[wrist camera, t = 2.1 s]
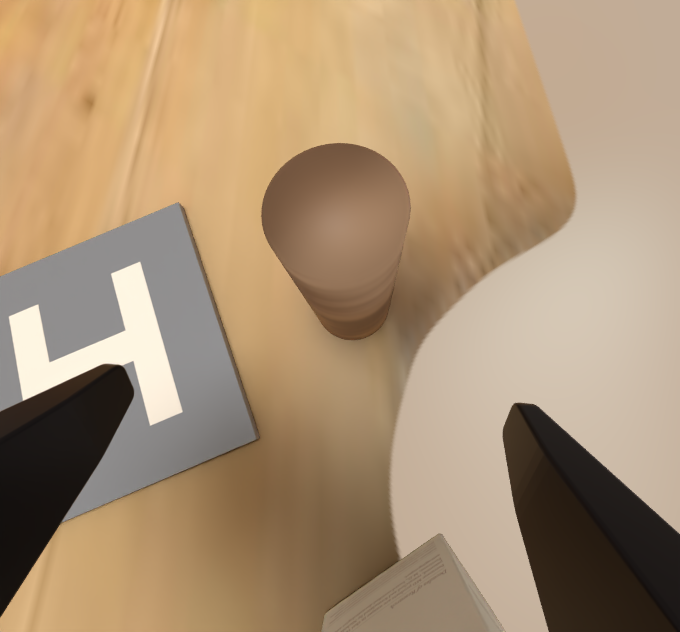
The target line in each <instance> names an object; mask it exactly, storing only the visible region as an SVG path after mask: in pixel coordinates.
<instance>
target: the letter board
mask: <svg viewBox="0 0 680 632" xmlns="http://www.w3.org/2000/svg"><path fill="white" fill-rule="evenodd" d="M102 364H118V365H122V366H123V367H124V368H125V369H126V371H127V374H128V376H129V378H130V381H131V383H132V385H133V388H134V398H133V400H132V402H131V404H130V406H129V408H128V410H127V412H126V414H125V416H124V418H123V420H122V422H121V423H120V425H119V427H118V429H117V431H116V433H115V435H114V437H113V439H112V441H111V443H110V445H109V447H108V449H107V450H106V452H105V454H104V456H103V458H102V459H101V461H100V463H99V464H98V466H97V468H96V469H95V471H94V472H93V474H92V475H91V477H90V478H89V480H88V482H87V483H86V485H85V486H84V488H83V489H82V491H81V492H80V494H79V496H78V497H77V499H76V500H75V502H74V503H73V505H72V507H71V508H70V510H69V511H68V513H67V514H66V516H65V517H64V519H63V521H62V522H64V521H66V520H69V519H71V518H73V517H76V516H78V515H80V514H83V513H85V512H87V511H90V510H92V509H94V508H97V507H99V506H102V505H104V504H106V503H109V502H111V501H113V500H116V499H118V498H120V497H123V496H125V495H127V494H130V493H132V492H134V491H137V490H139V489H141V488H144V487H146V486H148V485H151V484H153V483H155V482H158V481H160V480H163V479H165V478H167V477H170V476H172V475H174V474H177V473H179V472H181V471H184V470H186V469H188V468H191V467H193V466H195V465H198V464H200V463H202V462H205V461H207V460H209V459H212V458H214V457H216V456H219V455H221V454H224V453H226V452H228V451H231V450H233V449H235V448H238V447H240V446H242V445H245V444H247V443H249V442H252V441H254V440H256V439H259V438H260V437H259V434H258V431H257V428H256V425H255V422H254V418H253V415H252V412H251V409H250V406H249V403H248V400H247V397H246V394H245V391H244V388H243V385H242V382H241V379H240V376H239V373H238V370H237V367H236V364H235V361H234V358H233V355H232V352H231V349H230V346H229V343H228V340H227V337H226V334H225V331H224V328H223V325H222V322H221V319H220V316H219V313H218V310H217V307H216V304H215V301H214V298H213V295H212V292H211V289H210V286H209V283H208V280H207V277H206V274H205V271H204V268H203V265H202V262H201V259H200V256H199V253H198V250H197V247H196V244H195V241H194V238H193V235H192V232H191V229H190V226H189V223H188V220H187V217H186V214H185V211H184V208H183V206H182V205H181V204H180V203H179V202H178V203H175V204H173V205H171V206H168V207H166V208H163V209H161V210H159V211H156V212H154V213H151V214H149V215H147V216H144V217H142V218H140V219H137V220H135V221H132V222H130V223H128V224H125V225H123V226H120V227H118V228H116V229H113V230H111V231H108V232H106V233H104V234H101V235H99V236H96V237H94V238H92V239H89V240H87V241H84V242H82V243H80V244H77V245H75V246H72V247H70V248H68V249H65V250H63V251H60V252H58V253H56V254H53V255H51V256H48V257H46V258H44V259H41V260H39V261H36V262H34V263H32V264H29V265H27V266H24V267H22V268H20V269H17V270H15V271H12V272H10V273H8V274H5V275H3V276H0V411H2V410H4V409H6V408H9V407H11V406H13V405H15V404H17V403H19V402H22V401H24V400H26V399H28V398H30V397H32V396H35V395H37V394H39V393H41V392H43V391H45V390H47V389H50V388H52V387H54V386H56V385H58V384H60V383H63V382H65V381H67V380H69V379H71V378H73V377H76V376H78V375H80V374H82V373H84V372H86V371H89V370H91V369H93V368H95V367H97V366H99V365H102ZM62 522H61V523H62Z"/></svg>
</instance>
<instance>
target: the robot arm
mask: <svg viewBox="0 0 680 632" xmlns="http://www.w3.org/2000/svg"><path fill="white" fill-rule="evenodd" d="M133 398H134V388H133V385H132V383H131V381H130V378H129V376H128V374H127V371H126V369H125V368H124V367H123V366H122V365H118V364H102V365H99V366H97V367H95V368H93V369H91V370H89V371H86V372H84V373H82V374H80V375H78V376H76V377H73V378H71V379H69V380H67V381H65V382H63V383H60V384H58V385H56V386H54V387H52V388H50V389H47V390H45V391H43V392H41V393H39V394H37V395H35V396H32V397H30V398H28V399H26V400H24V401H22V402H19V403H17V404H15V405H13V406H11V407H9V408H6V409H4V410H2V411H0V617H1V616H2V614H3V613H4V611H5V610H6V608H7V606H8V605H9V603H10V602H11V600H12V599H13V597H14V596H15V594H16V592H17V591H18V589H19V588H20V586H21V585H22V583H23V581H24V580H25V578H26V577H27V575H28V574H29V572H30V571H31V569H32V567H33V566H34V564H35V563H36V561H37V560H38V558H39V557H40V555H41V553H42V552H43V550H44V549H45V547H46V546H47V544H48V542H49V541H50V539H51V538H52V536H53V535H54V533H55V532H56V530H57V528H58V527H59V525H60V524H61V522H62V521H63V519H64V517H65V516H66V514H67V513H68V511H69V510H70V508H71V507H72V505H73V503H74V502H75V500H76V499H77V497H78V496H79V494H80V492H81V491H82V489H83V488H84V486H85V485H86V483H87V482H88V480H89V478H90V477H91V475H92V474H93V472H94V471H95V469H96V468H97V466H98V464H99V463H100V461H101V459H102V458H103V456H104V454H105V452H106V450H107V449H108V447H109V445H110V443H111V441H112V439H113V437H114V435H115V433H116V431H117V429H118V427H119V425H120V423H121V422H122V420H123V418H124V416H125V414H126V412H127V410H128V408H129V406H130V404H131V402H132V400H133ZM503 442H504V448H505V454H506V460H507V466H508V472H509V478H510V484H511V490H512V496H513V502H514V507H515V511H516V515H517V519H518V523H519V526H520V530H521V534H522V537H523V541H524V545H525V548H526V551H527V555H528V559H529V562H530V566H531V569H532V573H533V577H534V580H535V583H536V587H537V590H538V594H539V598H540V602H541V605H542V609H543V612H544V616H545V619H546V623H547V626H548V630H549V632H680V534H679V533H678V532H677V531H676V530H675V529H673V528H672V527H671V526H670V525H669V524H668V523H667V522H666V521H664V520H663V519H662V518H661V517H660V516H659V515H658V514H657V513H656V512H655V511H653V510H652V509H651V508H650V507H649V506H648V505H647V504H646V503H645V502H643V501H642V500H641V499H640V498H639V497H638V496H637V495H636V494H635V493H633V492H632V491H631V490H630V489H629V488H628V487H627V486H626V485H625V484H623V483H622V482H621V481H620V480H619V479H618V478H617V477H616V476H615V475H613V474H612V473H611V472H610V471H609V470H608V469H607V468H606V467H605V466H603V465H602V464H601V463H600V462H599V461H598V460H597V459H596V458H595V457H593V456H592V455H591V454H590V453H589V452H588V451H587V450H586V449H585V448H583V447H582V446H581V445H580V444H579V443H578V442H577V441H576V440H575V439H573V438H572V437H571V436H570V435H569V434H568V433H567V432H566V431H565V430H563V429H562V428H561V427H560V426H559V425H558V424H557V423H556V422H555V421H553V420H552V419H551V418H550V417H549V416H548V415H547V414H545V413H544V412H543V411H542V410H541V409H540V408H539V407H538V406H536V405H534V404H527V403H515V404H514V405H513V406H512V408H511V410H510V412H509V415H508V418H507V420H506V422H505V425H504V428H503Z"/></svg>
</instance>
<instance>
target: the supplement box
mask: <svg viewBox="0 0 680 632" xmlns="http://www.w3.org/2000/svg"><path fill="white" fill-rule="evenodd" d="M321 632H505V630H504V629H503V627H502V625H501V624H500V622H499V620H498V619H497V617H496V616H495V614H494V613H493V611H492V609H491V608H490V606H489V605H488V603H487V602H486V600H485V599H484V597H483V596H482V594H481V593H480V591H479V590H478V588H477V587H476V585H475V583H474V582H473V581H472V579H471V578H470V576H469V574H468V573H467V571H466V570H465V568H464V567H463V565H462V564H461V563H460V561H459V560H458V558H457V556H456V555H455V553H454V552H453V550H452V549H451V547H450V546H449V544H448V543H447V541H446V540H445V538H444V537H443V535H442V534H437V535H436V536H435V537H433V538H431V539H430V540H429V541H427V542H426V543H424V544H423V545H421V546H420V547H418V548H417V549H416V550H414V551H413V552H411V553H410V554H409V555H407V556H406V557H404V558H403V559H401V560H400V561H398V562H397V563H395V564H394V565H393V566H391V567H390V568H388V569H387V570H386V571H384V572H383V573H381V574H380V575H378V576H377V577H375V578H374V579H373V580H371V581H370V582H368V583H367V584H366V585H364V586H363V587H361V588H360V589H358V590H357V591H355V592H354V593H353V594H351V595H350V596H349V597H347V598H346V599H344V600H343V601H341V602H340V603H339V604H337V605H336V606H335V607H333V608H332V609H330V610H329V611H328V612H327V613H326V614H325V616H324V620H323V625H322V631H321Z"/></svg>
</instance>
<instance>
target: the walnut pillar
mask: <svg viewBox="0 0 680 632" xmlns="http://www.w3.org/2000/svg"><path fill="white" fill-rule="evenodd" d="M410 210H411V205H410V196H409V192H408V189H407V186H406V183H405V181H404V179H403V177H402V176H401V174H400V173H399V171H398V170H397V169H396V167H395V166H394V165H393V164H392V163H391V162H390V161H388V160H387V159H386V158H385V157H383V156H382V155H380V154H378V153H377V152H375V151H373V150H370V149H368V148H366V147H362V146H359V145H353V144H345V143H335V144H326V145H321V146H317V147H314V148H311V149H309V150H306V151H304V152H302V153H300V154H298V155H297V156H295V157H293V158H292V159H291V160H289V161H288V162H287V163H286V164H285V165H284V166H283V167H281V168H280V170H279V171H278V172H277V173H276V174H275V176H274V177H273V179H272V180H271V182H270V184H269V186H268V188H267V190H266V193H265V196H264V199H263V204H262V215H261V217H262V226H263V230H264V234H265V236H266V239H267V241H268V243H269V245H270V246H271V248H272V250H273V251H274V253H275V254H276V256H277V257H278V259H279V260H280V262H281V263H282V265H283V266H284V268H285V269H286V271H287V272H288V274H289V275H290V277H291V278H292V280H293V281H294V283H295V284H296V286H297V287H298V289H299V290H300V292H301V293H302V295H303V296H304V298H305V299H306V301H307V302H308V304H309V305H310V307H311V308H312V310H313V311H314V313H315V314H316V316H317V317H318V319H319V320H320V322H321V323H322V325H323V326H324V327H325V328H326V329H327V330H328V331H329V332H330V333H331V334H333V335H335V336H337V337H339V338H342V339H347V340H357V339H362V338H366V337H368V336H370V335H372V334H373V333H375V332H376V331H377V330H378V329H379V328H380V327H381V326H382V324H383V323H384V321H385V319H386V317H387V314H388V310H389V306H390V302H391V297H392V293H393V289H394V284H395V280H396V276H397V271H398V267H399V263H400V258H401V254H402V250H403V245H404V241H405V237H406V232H407V228H408V224H409V219H410Z"/></svg>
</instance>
